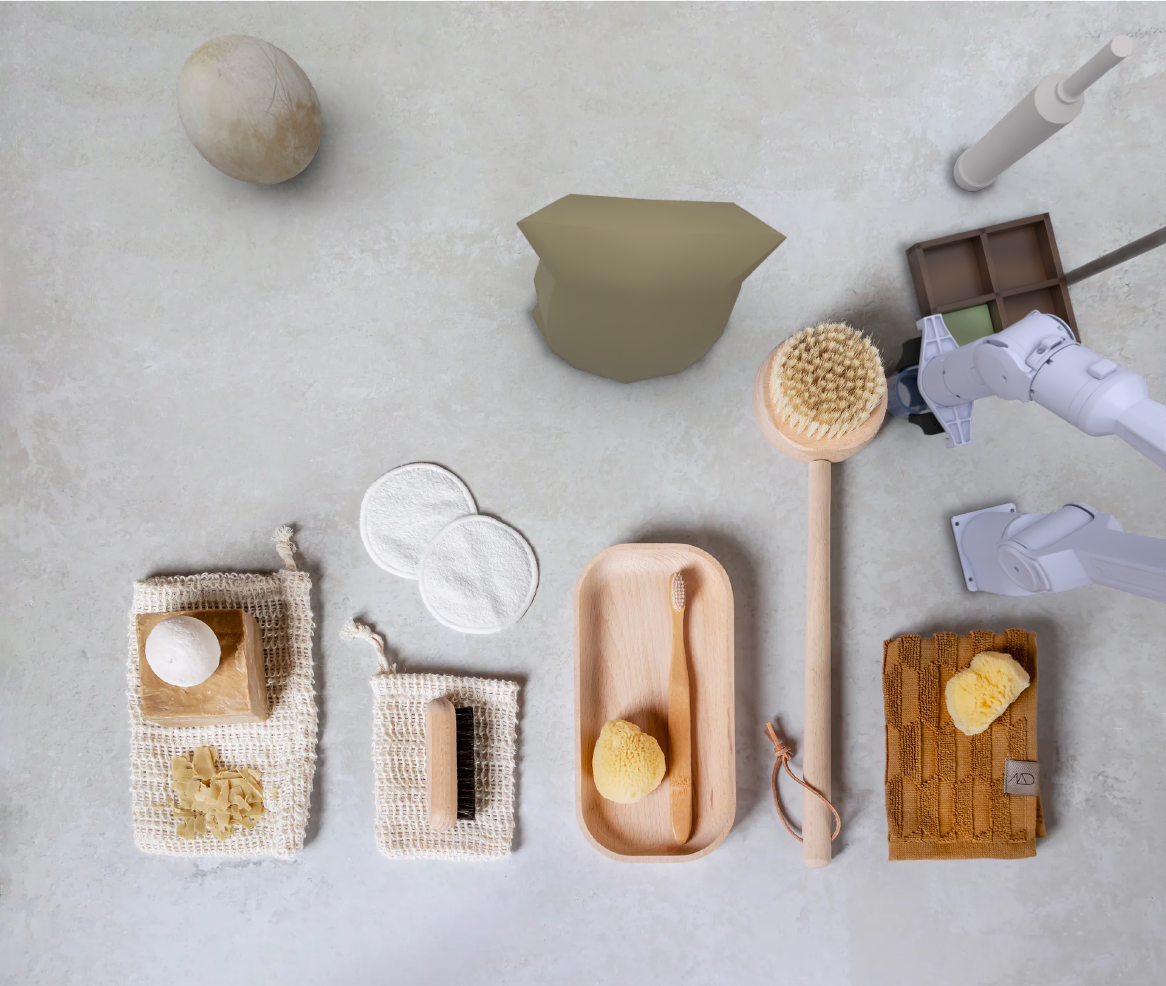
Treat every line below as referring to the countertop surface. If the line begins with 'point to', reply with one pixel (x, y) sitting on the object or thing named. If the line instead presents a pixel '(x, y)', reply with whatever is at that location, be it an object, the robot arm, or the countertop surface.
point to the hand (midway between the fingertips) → (909, 392)
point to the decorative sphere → (249, 109)
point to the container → (640, 279)
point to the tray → (1003, 275)
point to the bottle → (1035, 119)
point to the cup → (905, 394)
